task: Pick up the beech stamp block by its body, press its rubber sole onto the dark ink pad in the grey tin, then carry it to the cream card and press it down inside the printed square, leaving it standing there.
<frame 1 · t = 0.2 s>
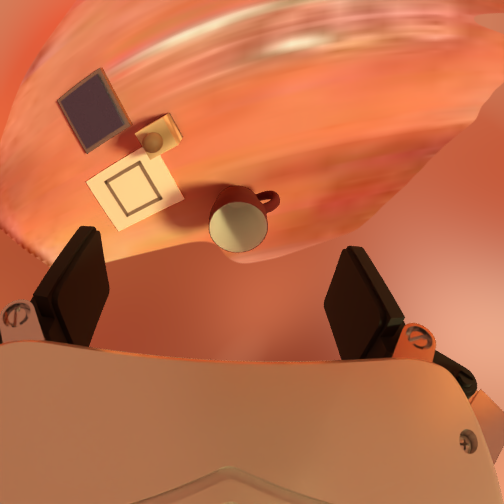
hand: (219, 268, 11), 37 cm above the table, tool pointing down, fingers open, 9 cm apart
ink pad: (94, 110, 38), on the table
stamp: (163, 131, 42), on the table
mug: (243, 194, 49), on the table
card: (133, 189, 47), on the table
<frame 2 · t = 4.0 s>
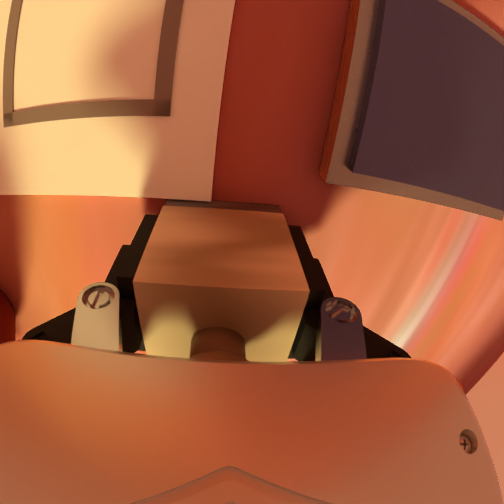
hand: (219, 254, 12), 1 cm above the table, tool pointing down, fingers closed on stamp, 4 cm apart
ink pad: (451, 104, 10), on the table
stamp: (219, 248, 13), on the table, touching gripper
mug: (1, 313, 15), on the table
card: (84, 23, 7), on the table
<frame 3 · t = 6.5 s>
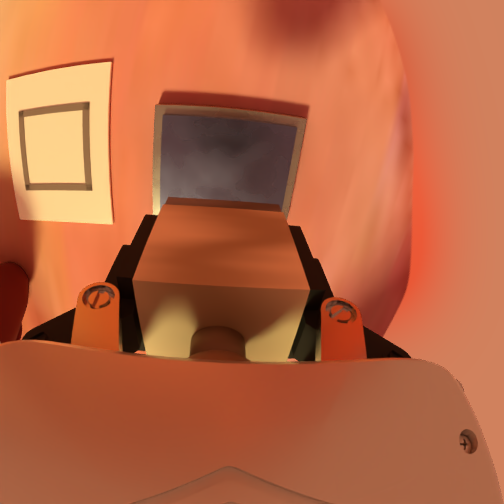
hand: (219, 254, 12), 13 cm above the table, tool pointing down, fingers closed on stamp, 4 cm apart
ink pad: (224, 163, 23), on the table
stamp: (219, 247, 13), point 12 cm above the table, touching gripper
mug: (20, 282, 28), on the table
card: (54, 148, 20), on the table
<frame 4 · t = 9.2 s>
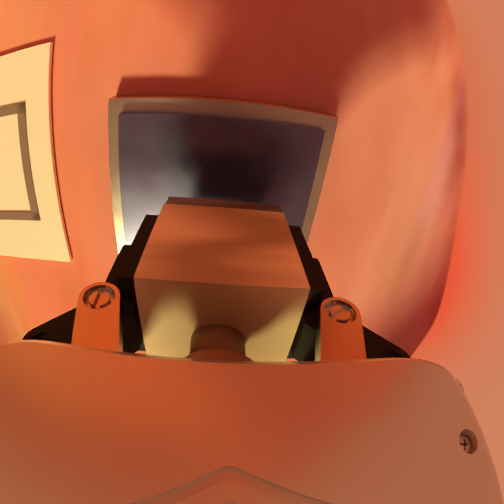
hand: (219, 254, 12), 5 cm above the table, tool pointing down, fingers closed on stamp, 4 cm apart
ink pad: (215, 181, 16), on the table
stamp: (219, 247, 13), point 4 cm above the table, touching gripper
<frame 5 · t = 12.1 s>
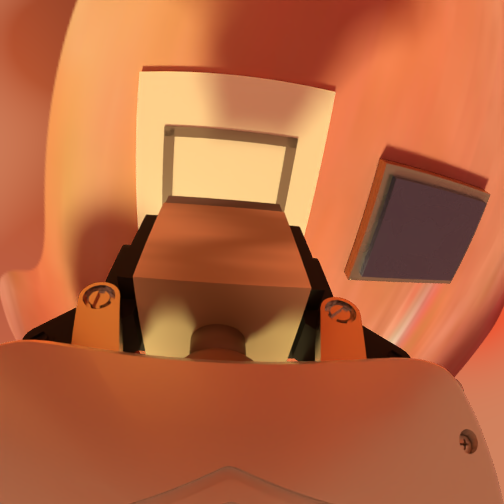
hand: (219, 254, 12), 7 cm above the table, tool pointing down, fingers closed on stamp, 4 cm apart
ink pad: (421, 228, 21), on the table
stamp: (219, 246, 13), point 6 cm above the table, touching gripper
card: (224, 189, 18), on the table
when the fingers open (1 cm above the table, at t = 14.4 s): stamp stays where it is, resting on card.
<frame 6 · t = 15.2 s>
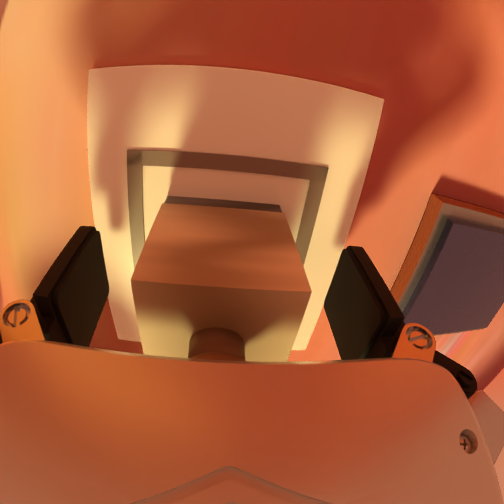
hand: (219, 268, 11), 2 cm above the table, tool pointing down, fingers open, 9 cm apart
ink pad: (464, 273, 15), on the table
stamp: (219, 247, 13), resting on card
card: (219, 239, 13), on the table
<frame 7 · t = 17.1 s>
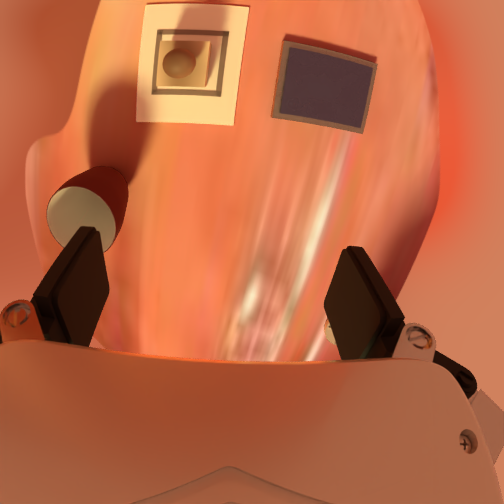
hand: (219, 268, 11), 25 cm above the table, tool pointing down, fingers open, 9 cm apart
ink pad: (324, 87, 29), on the table
stamp: (188, 63, 27), resting on card
mug: (112, 191, 35), on the table
card: (189, 62, 27), on the table
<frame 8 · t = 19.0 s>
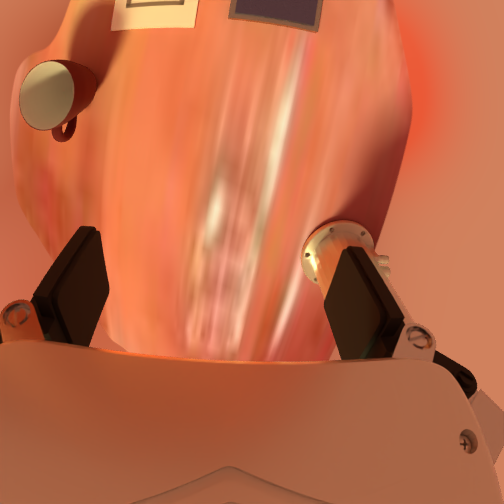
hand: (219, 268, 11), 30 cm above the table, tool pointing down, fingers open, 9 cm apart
mug: (84, 95, 32), on the table
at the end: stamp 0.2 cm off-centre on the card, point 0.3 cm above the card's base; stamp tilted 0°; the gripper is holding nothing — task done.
